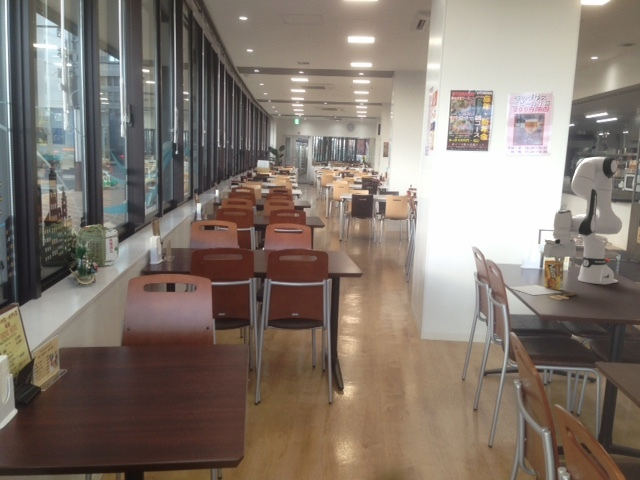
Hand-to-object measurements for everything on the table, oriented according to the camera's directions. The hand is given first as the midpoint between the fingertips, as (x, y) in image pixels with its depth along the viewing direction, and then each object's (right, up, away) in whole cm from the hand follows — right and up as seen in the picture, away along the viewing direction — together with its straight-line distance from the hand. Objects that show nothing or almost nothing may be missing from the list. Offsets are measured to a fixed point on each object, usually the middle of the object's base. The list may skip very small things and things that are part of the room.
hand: (558, 265), depth 317 cm
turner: (-5, -16, -19) cm, 25 cm away
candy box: (-3, -13, +1) cm, 13 cm away
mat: (-15, -13, -5) cm, 20 cm away
